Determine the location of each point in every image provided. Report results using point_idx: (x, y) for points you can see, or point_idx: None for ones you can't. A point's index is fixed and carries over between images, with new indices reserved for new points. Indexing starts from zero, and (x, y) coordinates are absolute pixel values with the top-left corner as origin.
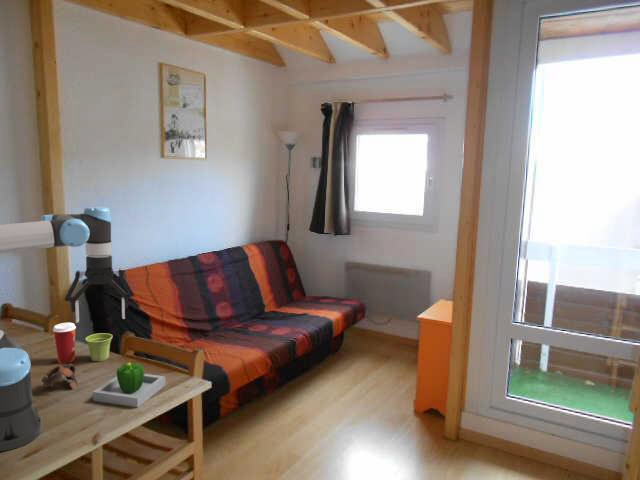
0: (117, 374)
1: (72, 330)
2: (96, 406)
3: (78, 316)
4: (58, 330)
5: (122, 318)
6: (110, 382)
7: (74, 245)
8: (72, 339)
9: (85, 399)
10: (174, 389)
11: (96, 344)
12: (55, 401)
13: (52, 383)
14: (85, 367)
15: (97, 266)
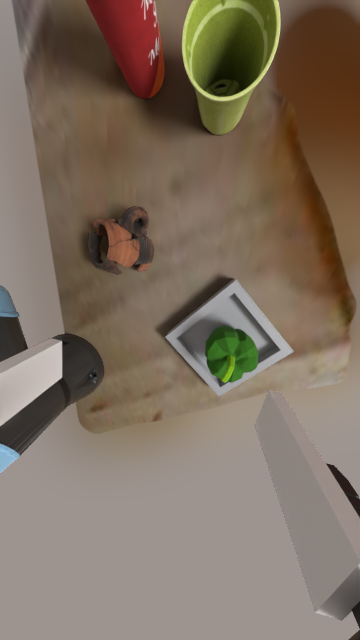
0: (205, 352)
1: None
2: (169, 351)
3: (37, 392)
4: None
5: (255, 426)
6: (198, 318)
7: None
8: (140, 17)
9: (158, 320)
10: (290, 367)
11: (209, 101)
12: (118, 301)
13: (106, 270)
14: (179, 160)
15: None
